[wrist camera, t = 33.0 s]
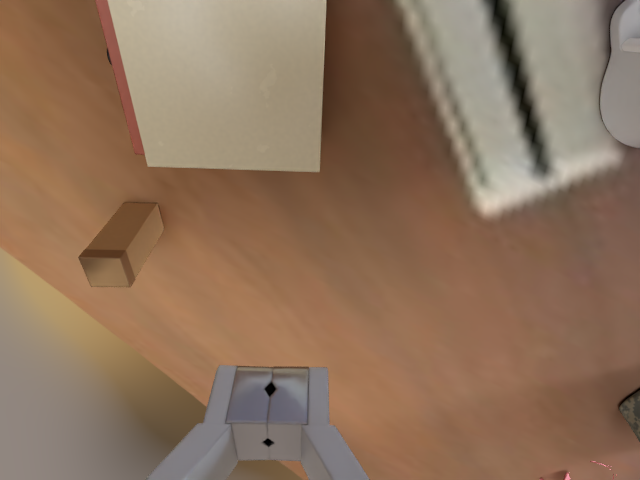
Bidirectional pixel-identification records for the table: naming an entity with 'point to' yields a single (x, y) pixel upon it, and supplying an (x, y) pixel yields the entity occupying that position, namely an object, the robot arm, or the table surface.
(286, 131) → the beige cabinet housing
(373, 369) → the table surface
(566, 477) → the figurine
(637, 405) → the lunch bag
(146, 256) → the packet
